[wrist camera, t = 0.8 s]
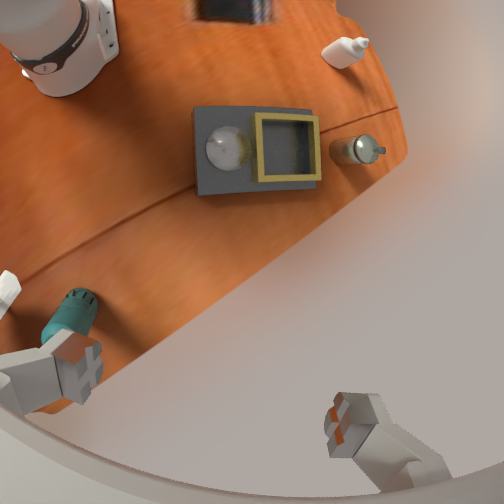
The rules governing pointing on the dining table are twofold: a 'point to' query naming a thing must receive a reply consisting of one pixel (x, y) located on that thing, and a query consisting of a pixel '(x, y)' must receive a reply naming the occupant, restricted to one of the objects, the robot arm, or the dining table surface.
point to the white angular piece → (8, 291)
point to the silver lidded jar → (355, 150)
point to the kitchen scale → (254, 149)
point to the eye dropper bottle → (345, 52)
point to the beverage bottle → (73, 314)
